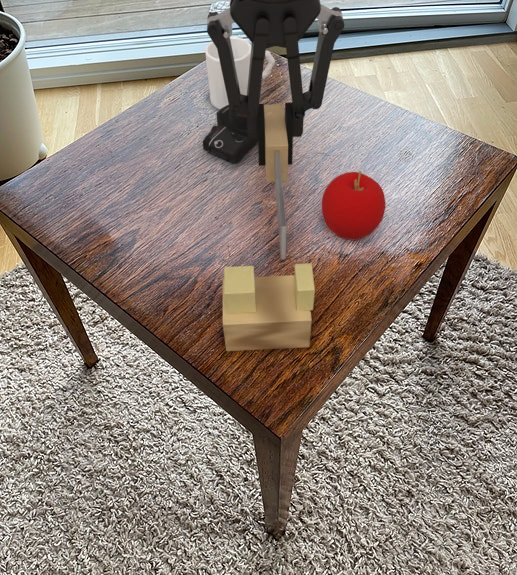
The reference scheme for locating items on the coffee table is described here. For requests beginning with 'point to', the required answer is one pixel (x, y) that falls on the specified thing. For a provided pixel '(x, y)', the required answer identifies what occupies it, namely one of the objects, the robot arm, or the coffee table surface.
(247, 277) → the butter block
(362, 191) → the fruit
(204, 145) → the film camera
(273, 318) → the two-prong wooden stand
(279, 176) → the knife
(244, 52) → the mug
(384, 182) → the coffee table surface
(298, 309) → the butter slice
